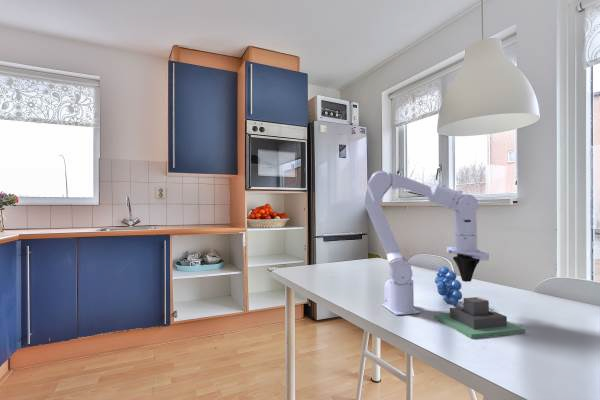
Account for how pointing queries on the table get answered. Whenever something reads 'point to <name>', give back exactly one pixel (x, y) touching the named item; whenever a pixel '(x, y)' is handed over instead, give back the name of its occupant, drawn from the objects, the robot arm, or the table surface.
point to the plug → (476, 306)
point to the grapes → (448, 285)
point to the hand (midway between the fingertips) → (466, 281)
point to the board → (479, 331)
